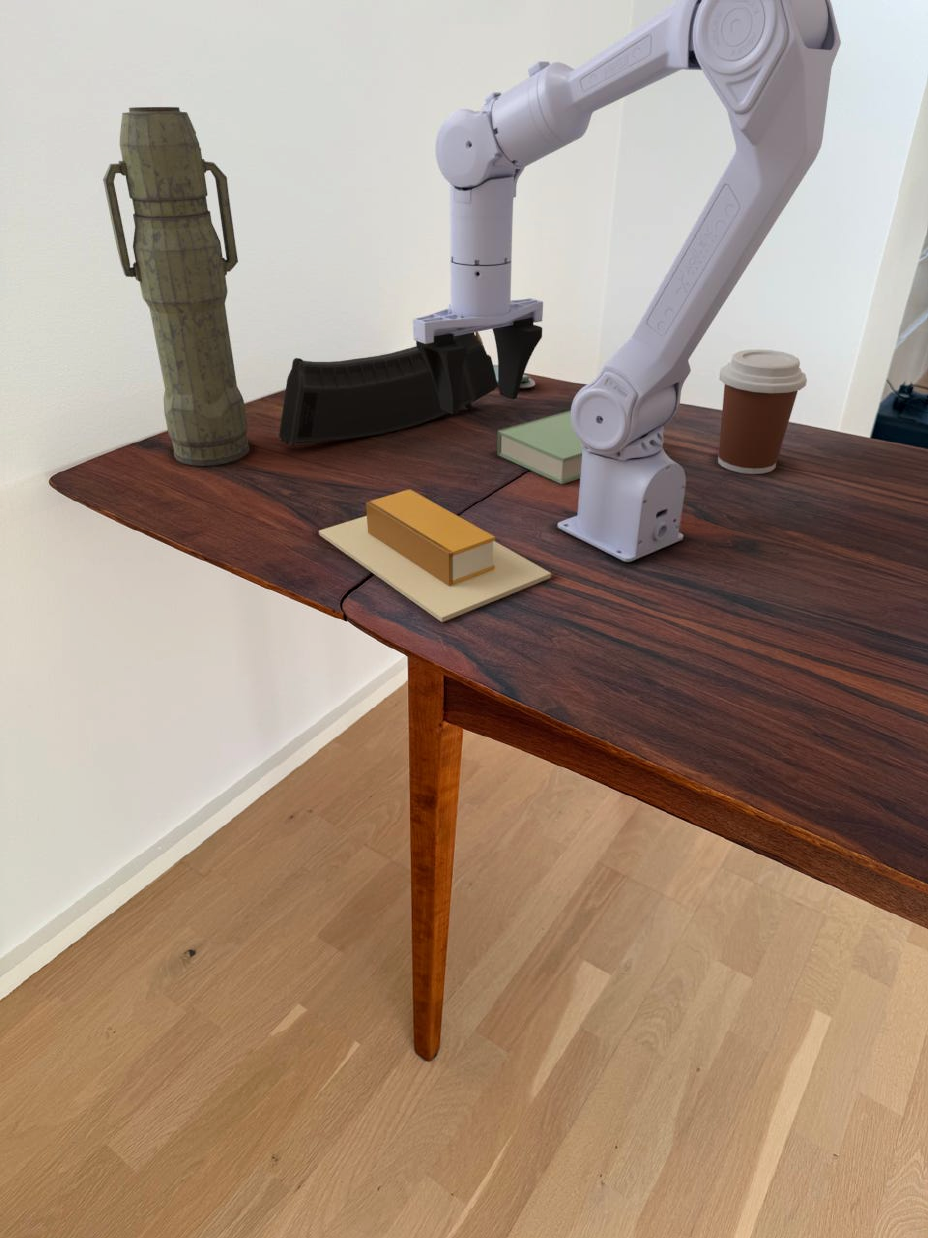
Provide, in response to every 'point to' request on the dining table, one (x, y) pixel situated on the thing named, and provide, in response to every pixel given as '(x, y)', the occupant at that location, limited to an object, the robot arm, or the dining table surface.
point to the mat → (425, 587)
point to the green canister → (182, 279)
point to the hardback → (544, 447)
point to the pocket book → (430, 536)
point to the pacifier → (525, 378)
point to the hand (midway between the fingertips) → (479, 403)
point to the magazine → (374, 393)
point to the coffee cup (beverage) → (757, 408)
